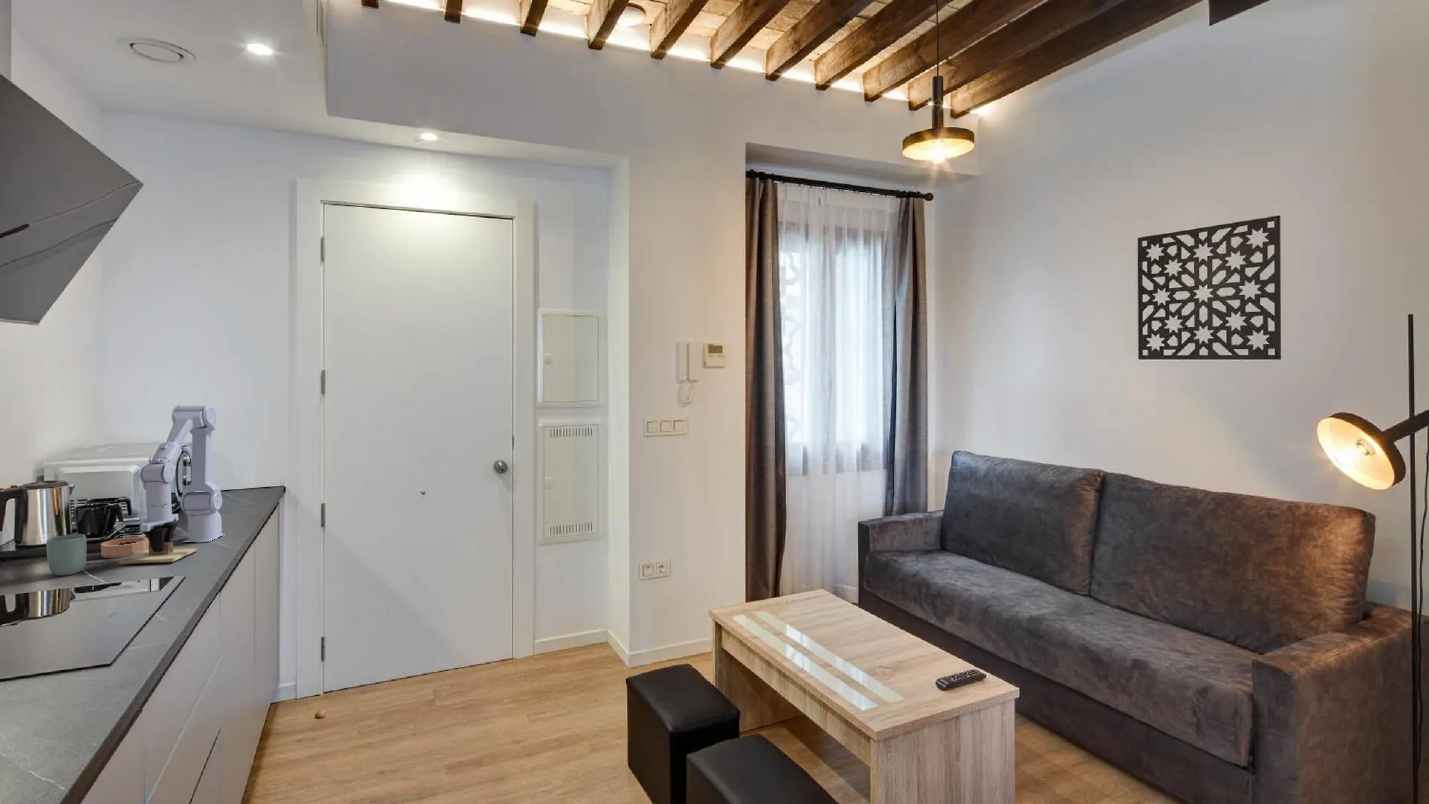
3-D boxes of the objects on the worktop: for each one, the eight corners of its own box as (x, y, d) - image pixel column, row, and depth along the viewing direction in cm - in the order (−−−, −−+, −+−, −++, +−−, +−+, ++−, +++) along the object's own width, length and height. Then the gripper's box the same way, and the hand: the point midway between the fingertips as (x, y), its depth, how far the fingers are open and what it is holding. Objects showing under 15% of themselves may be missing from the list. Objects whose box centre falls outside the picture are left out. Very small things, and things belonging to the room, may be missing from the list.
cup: (55, 571, 190) (54, 535, 189) (92, 568, 193) (90, 532, 192) (42, 579, 182) (40, 542, 182) (80, 575, 186) (78, 539, 185)
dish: (117, 548, 213) (117, 537, 213) (157, 547, 215) (157, 536, 215) (92, 558, 202) (91, 546, 202) (134, 556, 204) (134, 545, 204)
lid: (150, 551, 208) (149, 538, 207) (199, 549, 210) (199, 536, 210) (119, 563, 194) (119, 550, 194) (173, 561, 197) (172, 548, 196)
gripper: (159, 499, 208) (161, 544, 209) (126, 510, 194) (129, 557, 194) (185, 499, 209) (187, 543, 210) (155, 509, 195) (157, 556, 195)
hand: (161, 550), depth 202 cm, fingers closed on lid, 2 cm apart
